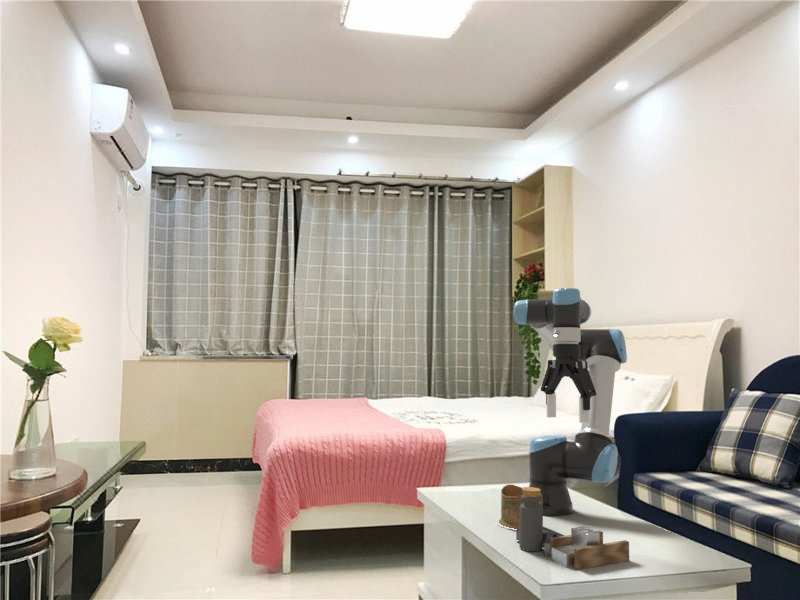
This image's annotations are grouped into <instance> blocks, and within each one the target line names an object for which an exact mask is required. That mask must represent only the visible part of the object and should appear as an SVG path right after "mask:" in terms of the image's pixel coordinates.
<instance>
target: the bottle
mask: <svg viewBox="0 0 800 600" xmlns="http://www.w3.org/2000/svg"><path fill="white" fill-rule="evenodd" d="M521 488H522V491H523V495H521V499H522V500H523V501H524V503H523V504H521V505H520V535H519V542H518V543H519V546H518V547H519V549H520V548H522V549H524V550H528V551H527V552H529V551H539V552H541V550H542V551H543V549H544V548H543V546H544V545H543V527H544V525H543V524H544V515H543V507H542V506H541V505H540V504H539V502H540V501H541V496H540V491H541V490H540V489H539V488H534V487H529V486H526V487H525V486H524V487H521ZM522 549H521V550H522ZM524 550H523V551H524Z"/></svg>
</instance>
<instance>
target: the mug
mask: <svg viewBox="0 0 800 600" xmlns="http://www.w3.org/2000/svg"><path fill="white" fill-rule="evenodd" d="M522 488H523V487H520V486H518V485H515V484H505V485H504V486H503V487H502V488H501V491H500V495H501V496H500V497H501V501H500V503H501V505H500V506H501V508H500V513H501V514H500V519H499V520H498V521H499V523H500V524H501V525H503V526H506V527H509V528H514V529H520V505H521V504H523V503H524V501H523V500H522V499H521V495H523V491H522ZM540 496H541V501H540V502H539V504H540V505H541V506H542V507H543V497H542V494H541V493H540Z"/></svg>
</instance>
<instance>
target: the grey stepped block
mask: <svg viewBox="0 0 800 600" xmlns="http://www.w3.org/2000/svg"><path fill="white" fill-rule="evenodd" d="M570 531H571V533H570V535H571V545H566V546H559V547H552V557H551V561H552V560H553V562H554V561H555V562H554V563H556V564H558V565H560V564H561V565H560V566H563V567H564V568H572V567H573V568H574V548H579V547H585V546H592V545H598V544H600V533H599V532H597V531H598V530H595V529H592V528H589V527H587V526H577V527H572V528H570Z"/></svg>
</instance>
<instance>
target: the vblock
mask: <svg viewBox="0 0 800 600" xmlns="http://www.w3.org/2000/svg"><path fill="white" fill-rule="evenodd" d="M515 533H516V534H515V537H516V538H515V540H519V535H520V529H517V530H516V531H515ZM559 536H566V535H565V534H562V533H560V532H557V531H555V530H553V529H550V528H548V527H546V526H543V546H544V548H543V549H544V550H543V551H544V556H545V555H548V556H547V557H550V538H552V537H559Z"/></svg>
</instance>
